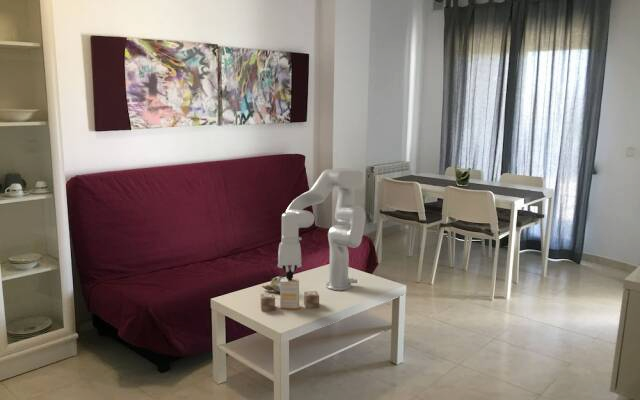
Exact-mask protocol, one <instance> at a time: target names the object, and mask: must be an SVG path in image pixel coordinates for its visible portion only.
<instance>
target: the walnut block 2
mask: <svg viewBox="0 0 640 400" xmlns="http://www.w3.org/2000/svg"><path fill="white" fill-rule="evenodd" d="M303 305H304V307H305V309H319V308H320V295H319V293H318V291H317V290H315V291H314V290H312V291H304V292H303Z"/></svg>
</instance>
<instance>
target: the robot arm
mask: <svg viewBox="0 0 640 400" xmlns="http://www.w3.org/2000/svg"><path fill="white" fill-rule="evenodd" d="M364 181H365V176H364V173H362V171H361V170H358V169H352V168H351V169H350V168H341V167H340V168H339V167H338V168H334V169H331V168H327V169H325V170H323V171H322V172H321V174H320V175H319V177H318V178H317V179H316V181H315V182H314V183H313V185H312V186H311V188H310V189H309V190H308V191H307V190H306V192H304V193H302V194H300V195H299V196H297V197H296V198H294V199H293V200H292V201H291V203H290V204H289V205H288V207H287V209H286V210H285V212H283V213H282V214H281V239H280V240H281V242H279V245H278V255H277V268H279V269H283V270H284V271H285V278H287V279H288V281H289V280H291V281H292V278H293V279H294V272H295V270H296V269H298V268H301V267H302V266H303V265H302V249H301V244H300V241H302V236H301V237H300V236H299V229H301V228H309V227H311V226H312V225H313V224H314V222H315V216H314V215H315V214H313V212H312V211H308V210H306V208H308V207H310V206H314V205H318V204H321V203H323V202H325V201H326V200H327V198H328V196H329V195H330V193H331V192H332V190H333V189H334V188H336V190H337V200H336V205H335V210H334V219H335V221H336V222H338V223H341V224H347V225H350V226H344V225H340V224H338V225H337V224H335V225H333V226H331V227H330V228H329V230H328V232H327V237H328V238H327V239H328V245H329V267H328V268H329V269H328V270H329V271H328V273H329V274H328V282H326V284H325V287H326V288H327V289H328V290H332V291H346V290H350V289H351V288H352V284H357V283H358V279H357V278H349V259H350V258H349V256H350V255H349V249H348V248H353V249H354V248H355V249H356V248H359V246H360V245H361V243H362V241H363V235H364V230H365V226H366V225H365V224H366V217H367V216H366V211H365V209H364V208H363V207H361V206H359V205H354V204H355V198H356V197H355V196H356V194H355V190H354V189H357V188H360V187H361V186H362V185H363V184H364ZM304 209H305V210H304ZM289 267H290V269H289Z"/></svg>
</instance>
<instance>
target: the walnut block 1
mask: <svg viewBox="0 0 640 400" xmlns="http://www.w3.org/2000/svg"><path fill="white" fill-rule="evenodd" d="M260 310H261V312H271V311H273V312H274V311H276V297H275V294H274V292H273V293H260Z"/></svg>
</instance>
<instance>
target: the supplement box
mask: <svg viewBox="0 0 640 400" xmlns="http://www.w3.org/2000/svg"><path fill="white" fill-rule="evenodd" d="M279 294H280V295H279V297H280V298H279V299H280V309H287V310H288V309H290V310H298V309H299V307H300V278H294V277H293V278H292V281H291V280H289V281H288V279H287V278H286V277H284V278H282V279H281V280H280V292H279Z"/></svg>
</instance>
